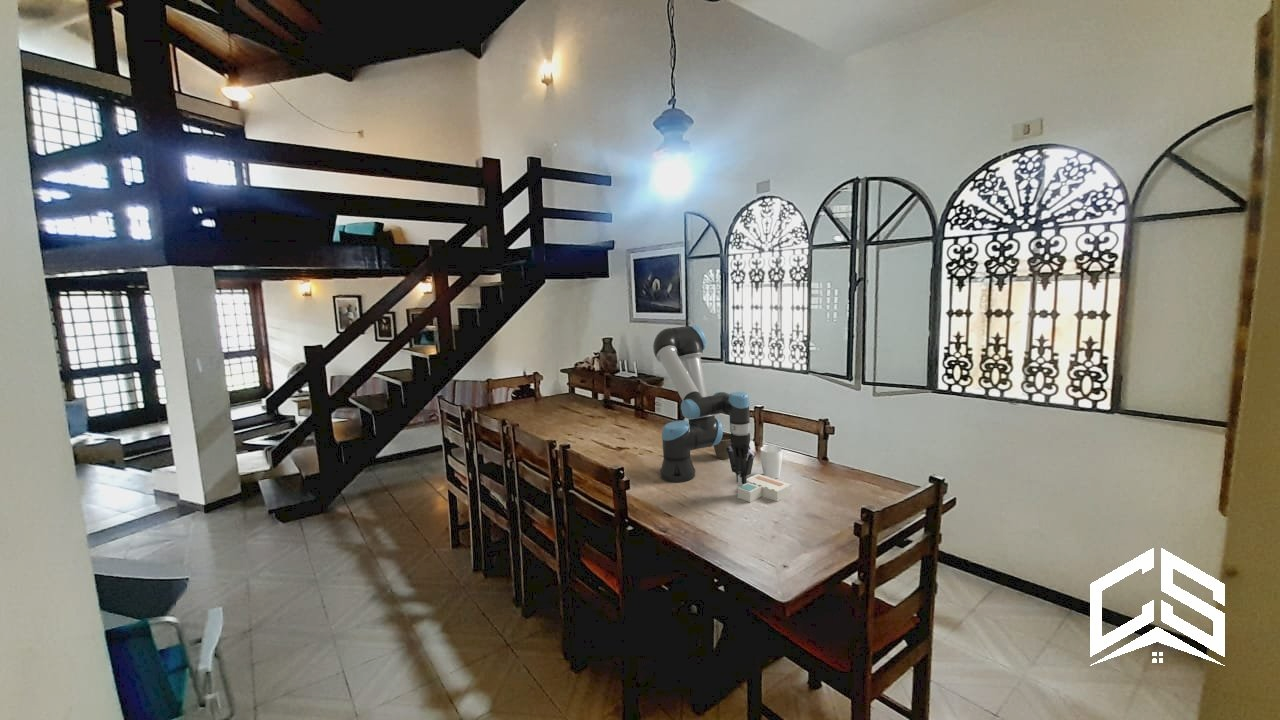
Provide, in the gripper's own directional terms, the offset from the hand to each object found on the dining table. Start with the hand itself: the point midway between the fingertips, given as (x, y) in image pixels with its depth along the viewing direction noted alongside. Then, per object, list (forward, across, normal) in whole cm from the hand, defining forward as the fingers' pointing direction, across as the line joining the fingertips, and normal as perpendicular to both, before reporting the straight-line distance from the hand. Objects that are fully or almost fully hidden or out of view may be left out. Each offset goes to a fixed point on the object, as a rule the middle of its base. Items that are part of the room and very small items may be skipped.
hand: (741, 490), depth 205 cm
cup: (+2, -3, +23) cm, 23 cm away
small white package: (+2, +6, +9) cm, 10 cm away
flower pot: (+2, -33, +26) cm, 42 cm away
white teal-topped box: (+2, +4, 0) cm, 4 cm away
